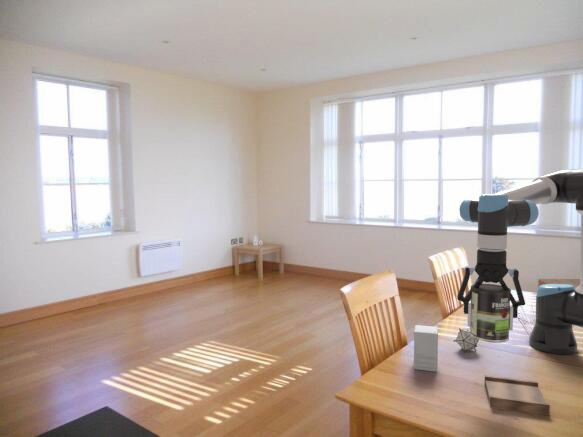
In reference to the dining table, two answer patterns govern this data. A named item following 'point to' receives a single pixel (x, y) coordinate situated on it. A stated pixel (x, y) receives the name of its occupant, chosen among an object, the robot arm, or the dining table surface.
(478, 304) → the coffee can
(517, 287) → the robot arm
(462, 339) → the spiky polyhedron ball
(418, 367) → the supplement box
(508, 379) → the board
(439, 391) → the dining table surface
